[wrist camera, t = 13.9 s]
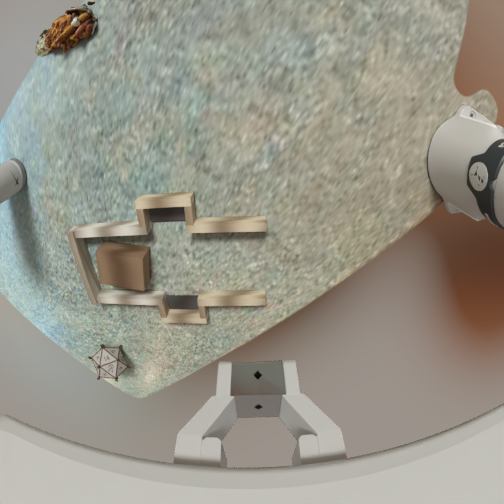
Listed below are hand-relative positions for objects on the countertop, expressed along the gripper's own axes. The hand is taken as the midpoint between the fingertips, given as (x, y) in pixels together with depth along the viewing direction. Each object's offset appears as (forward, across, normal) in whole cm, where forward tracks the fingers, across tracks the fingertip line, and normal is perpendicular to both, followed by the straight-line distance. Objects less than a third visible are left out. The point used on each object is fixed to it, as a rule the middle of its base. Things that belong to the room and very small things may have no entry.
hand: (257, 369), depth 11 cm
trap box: (+31, +13, +14) cm, 37 cm away
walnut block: (+31, +20, +14) cm, 40 cm away
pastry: (+32, +27, -25) cm, 49 cm away
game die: (+31, +31, +37) cm, 58 cm away
